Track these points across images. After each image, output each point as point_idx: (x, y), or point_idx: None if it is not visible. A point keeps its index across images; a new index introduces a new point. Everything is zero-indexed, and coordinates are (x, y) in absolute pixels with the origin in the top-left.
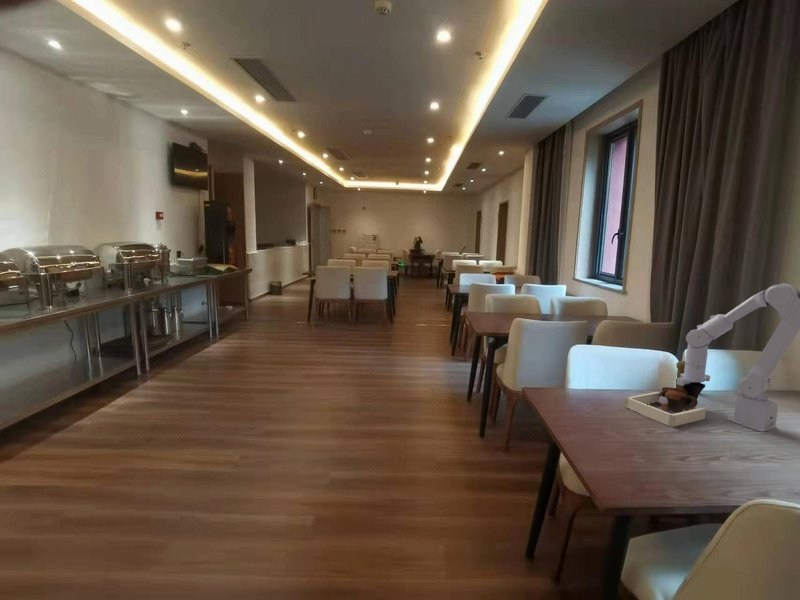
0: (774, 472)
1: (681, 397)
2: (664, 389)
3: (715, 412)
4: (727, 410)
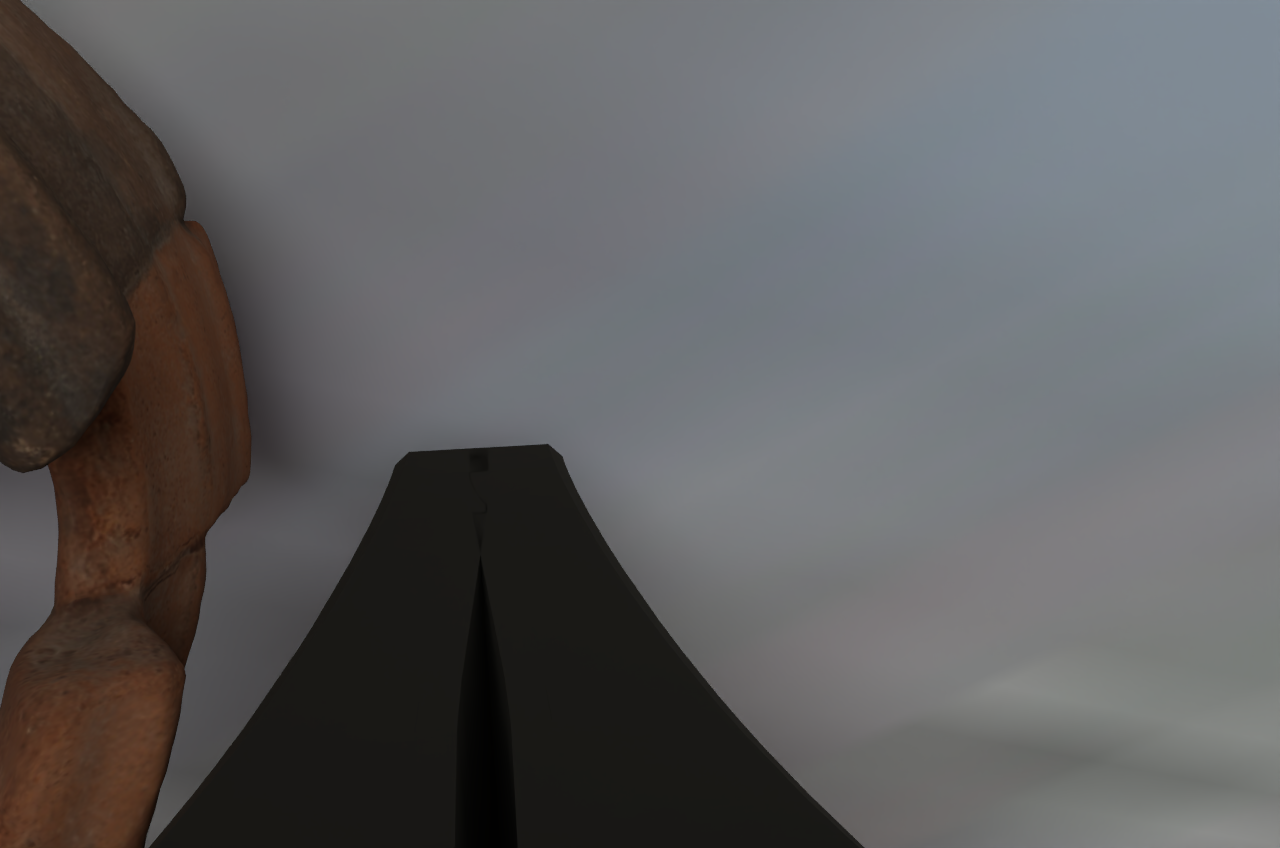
0: None
1: (82, 508)
2: None
3: None
4: (1258, 801)
